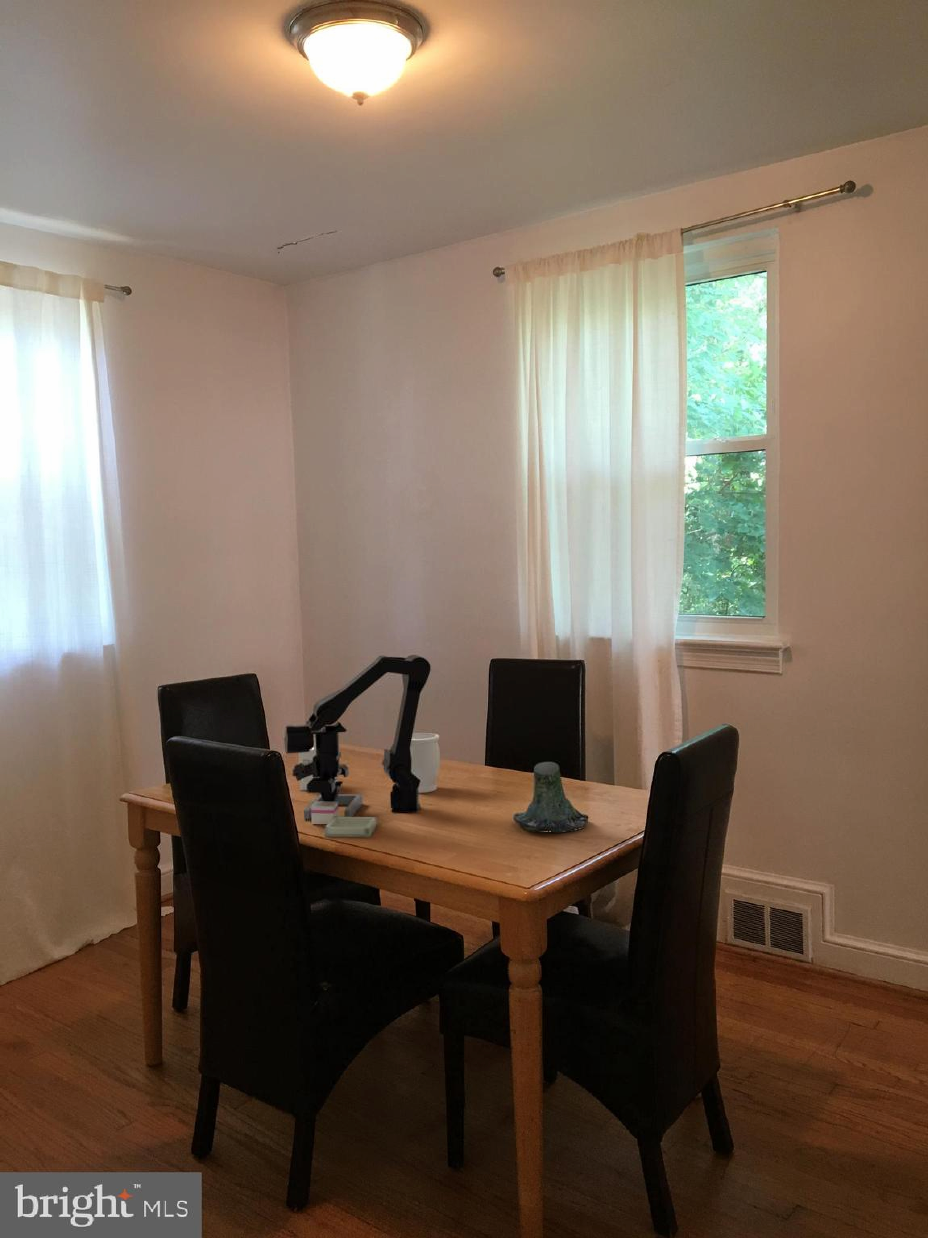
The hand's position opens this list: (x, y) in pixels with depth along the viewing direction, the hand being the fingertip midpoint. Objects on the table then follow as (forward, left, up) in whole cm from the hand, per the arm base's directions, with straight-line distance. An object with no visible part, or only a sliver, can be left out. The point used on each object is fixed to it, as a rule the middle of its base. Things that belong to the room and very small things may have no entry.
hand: (329, 812), depth 243 cm
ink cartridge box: (+12, -30, -2) cm, 32 cm away
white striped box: (0, +4, -1) cm, 4 cm away
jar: (-19, -28, -2) cm, 34 cm away
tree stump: (-55, +4, -2) cm, 55 cm away
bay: (0, -4, -1) cm, 4 cm away
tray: (-8, +11, -1) cm, 14 cm away
